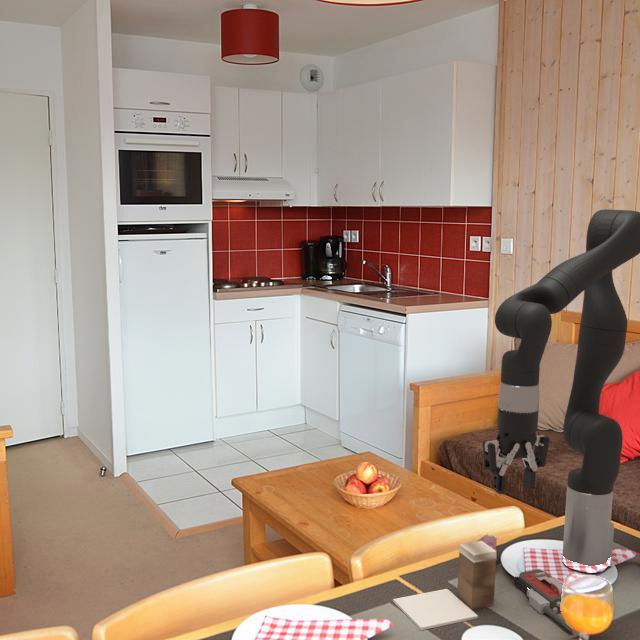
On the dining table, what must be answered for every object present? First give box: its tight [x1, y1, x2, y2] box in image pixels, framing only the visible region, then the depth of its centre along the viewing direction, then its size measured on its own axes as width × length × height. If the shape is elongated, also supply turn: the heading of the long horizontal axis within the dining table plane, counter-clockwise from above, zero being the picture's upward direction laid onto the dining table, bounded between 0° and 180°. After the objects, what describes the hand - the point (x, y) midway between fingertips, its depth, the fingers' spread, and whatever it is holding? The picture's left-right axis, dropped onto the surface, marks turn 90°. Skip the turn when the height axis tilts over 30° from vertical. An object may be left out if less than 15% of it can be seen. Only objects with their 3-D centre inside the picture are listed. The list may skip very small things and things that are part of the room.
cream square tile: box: [392, 588, 479, 631], centre depth 150 cm, size 12×11×1 cm
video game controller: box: [475, 533, 498, 561], centre depth 169 cm, size 10×5×7 cm, turn 169°
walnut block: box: [456, 540, 498, 611], centre depth 152 cm, size 5×5×11 cm
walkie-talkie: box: [513, 568, 574, 632], centre depth 152 cm, size 9×4×20 cm
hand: (513, 490), depth 153 cm, fingers open, 6 cm apart
